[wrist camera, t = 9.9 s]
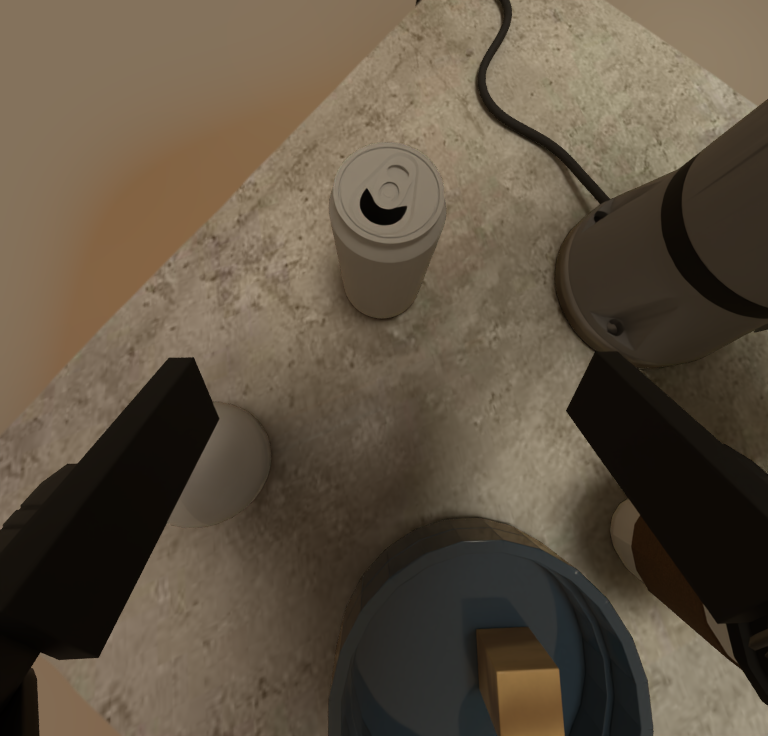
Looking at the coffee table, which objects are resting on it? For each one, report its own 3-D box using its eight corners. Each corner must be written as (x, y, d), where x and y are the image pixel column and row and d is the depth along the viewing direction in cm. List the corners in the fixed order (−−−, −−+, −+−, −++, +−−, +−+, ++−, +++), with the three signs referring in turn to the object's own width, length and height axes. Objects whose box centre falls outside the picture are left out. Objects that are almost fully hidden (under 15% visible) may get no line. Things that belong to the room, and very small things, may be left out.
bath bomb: (305, 446, 26) (276, 461, 18) (236, 528, 24) (172, 584, 17) (231, 383, 26) (170, 370, 18) (160, 461, 25) (62, 484, 17)
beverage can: (332, 302, 27) (302, 218, 15) (363, 239, 28) (358, 114, 16) (400, 332, 27) (422, 270, 15) (429, 268, 28) (471, 163, 16)
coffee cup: (687, 632, 25) (980, 836, 13) (559, 567, 25) (730, 707, 13) (728, 500, 26) (1022, 572, 14) (607, 440, 27) (798, 462, 15)
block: (475, 628, 24) (496, 672, 20) (528, 626, 24) (559, 668, 20) (478, 689, 23) (501, 746, 19) (532, 686, 23) (565, 742, 19)
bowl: (337, 519, 25) (328, 546, 20) (581, 511, 26) (631, 535, 21) (336, 816, 22) (326, 932, 17) (609, 797, 23) (675, 903, 18)
